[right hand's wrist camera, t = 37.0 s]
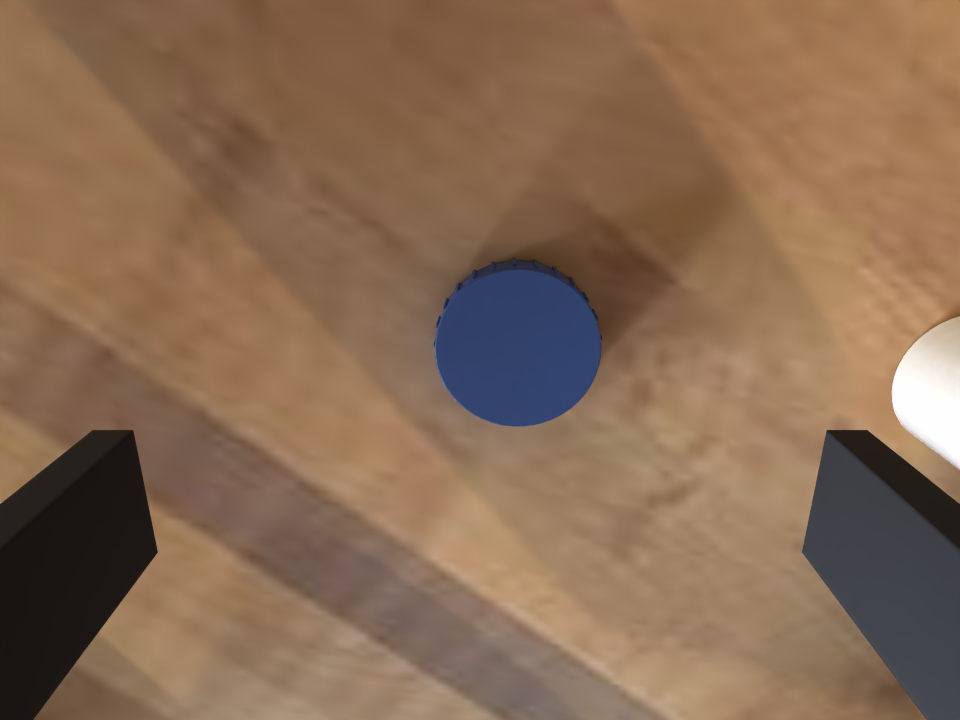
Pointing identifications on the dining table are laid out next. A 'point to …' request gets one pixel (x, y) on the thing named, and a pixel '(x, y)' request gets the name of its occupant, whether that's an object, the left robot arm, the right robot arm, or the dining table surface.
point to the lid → (517, 343)
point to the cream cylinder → (932, 390)
